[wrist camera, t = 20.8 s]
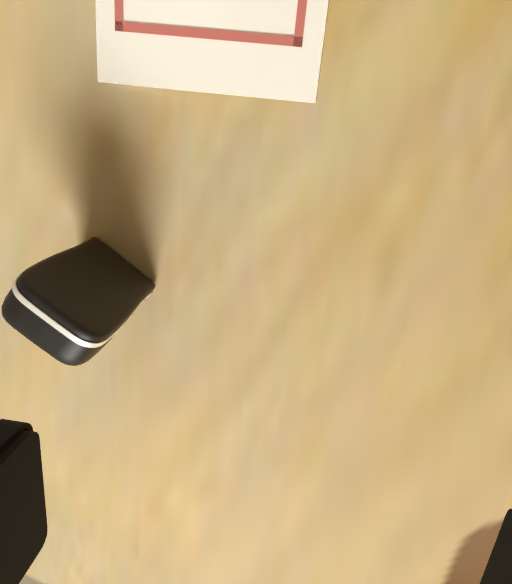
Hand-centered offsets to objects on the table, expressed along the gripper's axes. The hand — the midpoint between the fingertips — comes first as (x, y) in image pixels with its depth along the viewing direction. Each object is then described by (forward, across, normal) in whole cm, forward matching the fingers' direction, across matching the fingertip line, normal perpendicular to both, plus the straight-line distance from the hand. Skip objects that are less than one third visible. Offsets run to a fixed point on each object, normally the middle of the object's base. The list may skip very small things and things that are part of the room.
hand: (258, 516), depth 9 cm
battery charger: (+28, +15, +6) cm, 33 cm away
